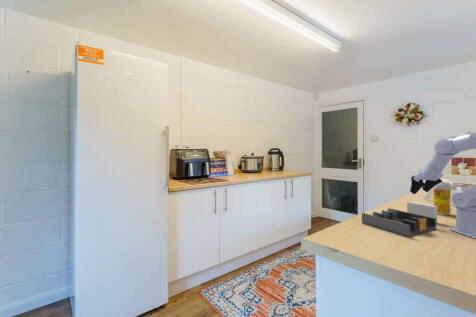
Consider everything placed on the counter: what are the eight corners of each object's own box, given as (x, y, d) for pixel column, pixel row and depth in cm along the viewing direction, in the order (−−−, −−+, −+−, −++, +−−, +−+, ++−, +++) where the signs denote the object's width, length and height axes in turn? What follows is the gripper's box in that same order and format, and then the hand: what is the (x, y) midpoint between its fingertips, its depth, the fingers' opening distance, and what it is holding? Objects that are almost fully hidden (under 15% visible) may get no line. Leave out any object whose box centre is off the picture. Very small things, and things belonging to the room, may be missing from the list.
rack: (436, 228, 90) (436, 216, 90) (408, 236, 82) (408, 222, 82) (388, 217, 106) (389, 206, 106) (361, 222, 99) (361, 210, 98)
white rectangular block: (437, 222, 98) (437, 206, 97) (433, 223, 96) (433, 207, 96) (410, 216, 107) (411, 201, 106) (406, 217, 105) (407, 202, 105)
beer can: (430, 213, 112) (430, 181, 111) (437, 211, 114) (437, 181, 114) (445, 216, 106) (446, 183, 106) (452, 214, 109) (453, 182, 108)
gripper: (437, 159, 102) (421, 184, 109) (413, 162, 97) (398, 187, 105) (454, 168, 96) (436, 194, 103) (430, 172, 92) (413, 198, 99)
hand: (418, 191), depth 104 cm, fingers open, 7 cm apart
